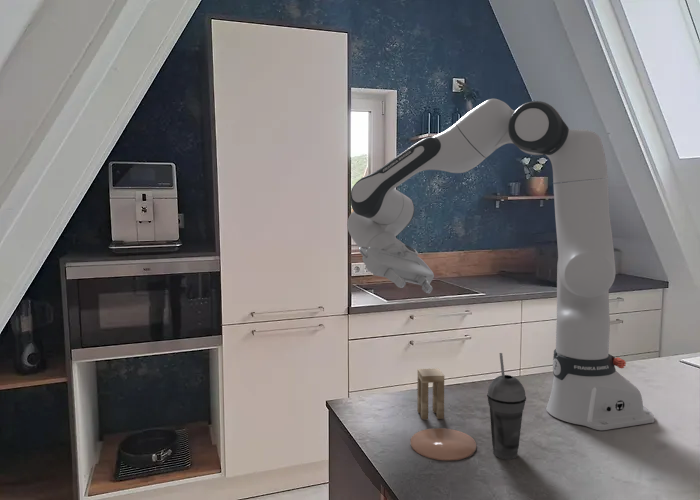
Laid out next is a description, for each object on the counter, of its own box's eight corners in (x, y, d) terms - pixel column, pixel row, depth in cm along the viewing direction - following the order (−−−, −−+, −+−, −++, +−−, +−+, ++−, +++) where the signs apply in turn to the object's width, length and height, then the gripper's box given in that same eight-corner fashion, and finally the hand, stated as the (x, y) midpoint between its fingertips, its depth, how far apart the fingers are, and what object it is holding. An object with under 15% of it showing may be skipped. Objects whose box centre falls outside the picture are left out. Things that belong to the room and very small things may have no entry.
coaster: (464, 429, 117) (465, 426, 117) (485, 458, 104) (485, 455, 104) (405, 432, 116) (405, 429, 116) (418, 462, 103) (418, 459, 103)
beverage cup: (527, 464, 102) (529, 360, 100) (486, 461, 103) (488, 358, 101) (522, 446, 109) (525, 349, 107) (485, 443, 110) (486, 347, 108)
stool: (438, 409, 128) (438, 368, 127) (443, 418, 123) (444, 375, 122) (417, 410, 127) (417, 369, 126) (422, 419, 122) (422, 376, 121)
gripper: (362, 235, 128) (392, 270, 119) (419, 250, 142) (450, 283, 132) (349, 256, 130) (377, 292, 121) (407, 270, 144) (436, 303, 134)
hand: (416, 288), depth 127 cm, fingers open, 8 cm apart
